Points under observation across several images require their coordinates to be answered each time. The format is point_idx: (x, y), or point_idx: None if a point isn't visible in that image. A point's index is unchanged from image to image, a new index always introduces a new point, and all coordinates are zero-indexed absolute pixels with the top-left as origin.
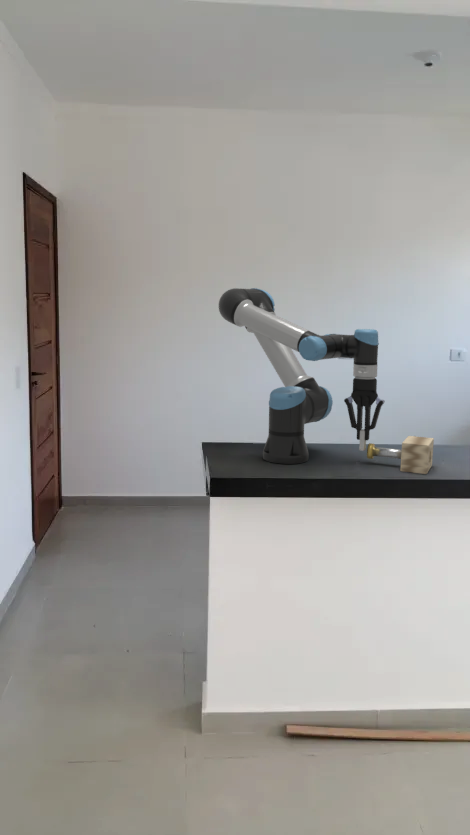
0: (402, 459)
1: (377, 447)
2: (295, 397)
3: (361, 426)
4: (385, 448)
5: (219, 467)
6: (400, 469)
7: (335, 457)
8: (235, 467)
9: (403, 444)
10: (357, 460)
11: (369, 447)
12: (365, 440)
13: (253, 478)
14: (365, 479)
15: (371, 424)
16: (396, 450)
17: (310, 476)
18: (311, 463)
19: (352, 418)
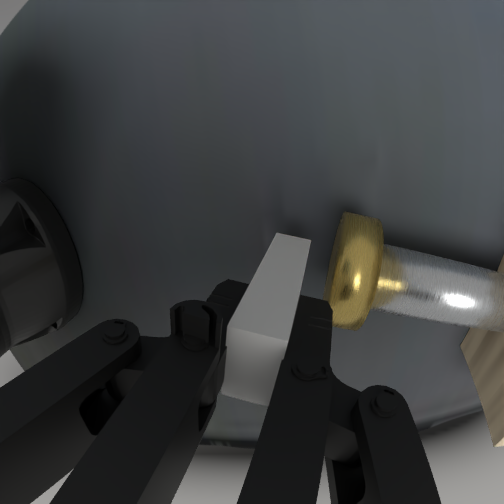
0: (478, 383)
1: (397, 301)
2: None
3: (209, 370)
4: (446, 314)
5: (12, 347)
6: (462, 350)
7: (147, 160)
8: (23, 348)
9: (497, 440)
10: (269, 190)
11: (336, 326)
12: (299, 295)
13: None
14: None
15: (335, 485)
16: (496, 328)
17: None
18: (103, 298)
19: (77, 454)
